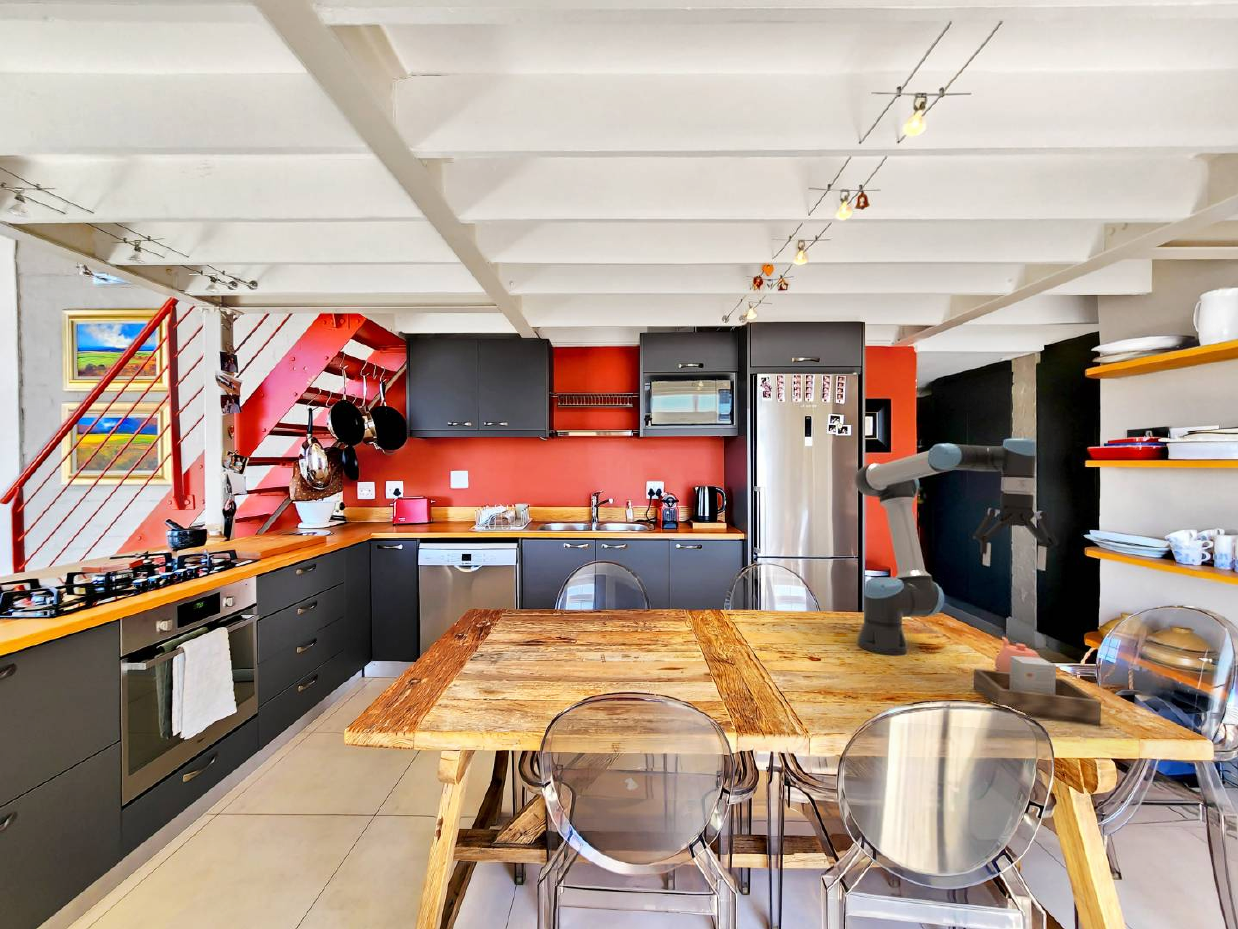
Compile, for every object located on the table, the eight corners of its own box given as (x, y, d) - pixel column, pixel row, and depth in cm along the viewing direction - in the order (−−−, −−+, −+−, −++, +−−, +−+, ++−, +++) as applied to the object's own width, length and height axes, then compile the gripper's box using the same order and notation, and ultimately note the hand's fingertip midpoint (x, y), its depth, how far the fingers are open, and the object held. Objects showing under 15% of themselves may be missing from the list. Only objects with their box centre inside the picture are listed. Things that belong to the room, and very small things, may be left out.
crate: (999, 712, 133) (1000, 690, 133) (973, 688, 148) (974, 668, 148) (1100, 725, 128) (1101, 702, 128) (1062, 699, 143) (1063, 678, 143)
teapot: (1012, 684, 153) (1013, 651, 153) (981, 662, 170) (982, 633, 170) (1059, 689, 150) (1060, 655, 150) (1024, 666, 168) (1024, 636, 168)
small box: (1041, 697, 140) (1042, 657, 140) (1055, 707, 134) (1056, 665, 135) (1008, 695, 141) (1009, 655, 141) (1021, 703, 136) (1022, 662, 136)
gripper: (972, 490, 150) (969, 565, 150) (1076, 496, 144) (1072, 574, 144) (962, 489, 157) (959, 561, 157) (1060, 495, 151) (1057, 569, 151)
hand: (1013, 567), depth 151 cm, fingers open, 13 cm apart
